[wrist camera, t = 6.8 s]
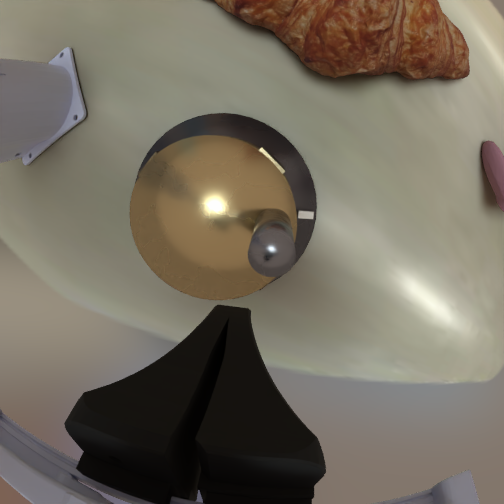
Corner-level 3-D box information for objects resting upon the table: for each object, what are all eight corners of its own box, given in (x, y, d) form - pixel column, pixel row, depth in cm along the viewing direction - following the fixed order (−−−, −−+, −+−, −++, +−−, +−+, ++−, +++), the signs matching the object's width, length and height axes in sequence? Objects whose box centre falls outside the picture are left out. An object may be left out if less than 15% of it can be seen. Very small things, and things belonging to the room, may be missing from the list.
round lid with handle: (158, 274, 21) (116, 328, 14) (145, 141, 17) (81, 149, 10) (290, 280, 20) (293, 346, 13) (296, 135, 16) (309, 133, 9)
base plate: (179, 299, 23) (174, 308, 22) (118, 156, 19) (108, 158, 17) (332, 262, 21) (335, 270, 19) (281, 90, 16) (282, 86, 15)
